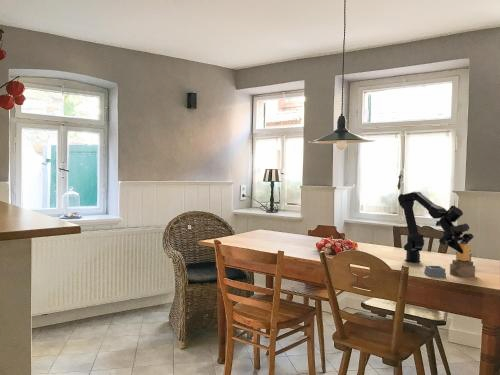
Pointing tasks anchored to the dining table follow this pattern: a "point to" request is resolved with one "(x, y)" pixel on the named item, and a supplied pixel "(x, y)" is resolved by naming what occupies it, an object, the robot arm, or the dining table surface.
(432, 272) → the lower dock
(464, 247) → the plug
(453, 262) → the upper dock
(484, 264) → the dining table surface
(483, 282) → the dining table surface
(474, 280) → the dining table surface
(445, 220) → the robot arm
